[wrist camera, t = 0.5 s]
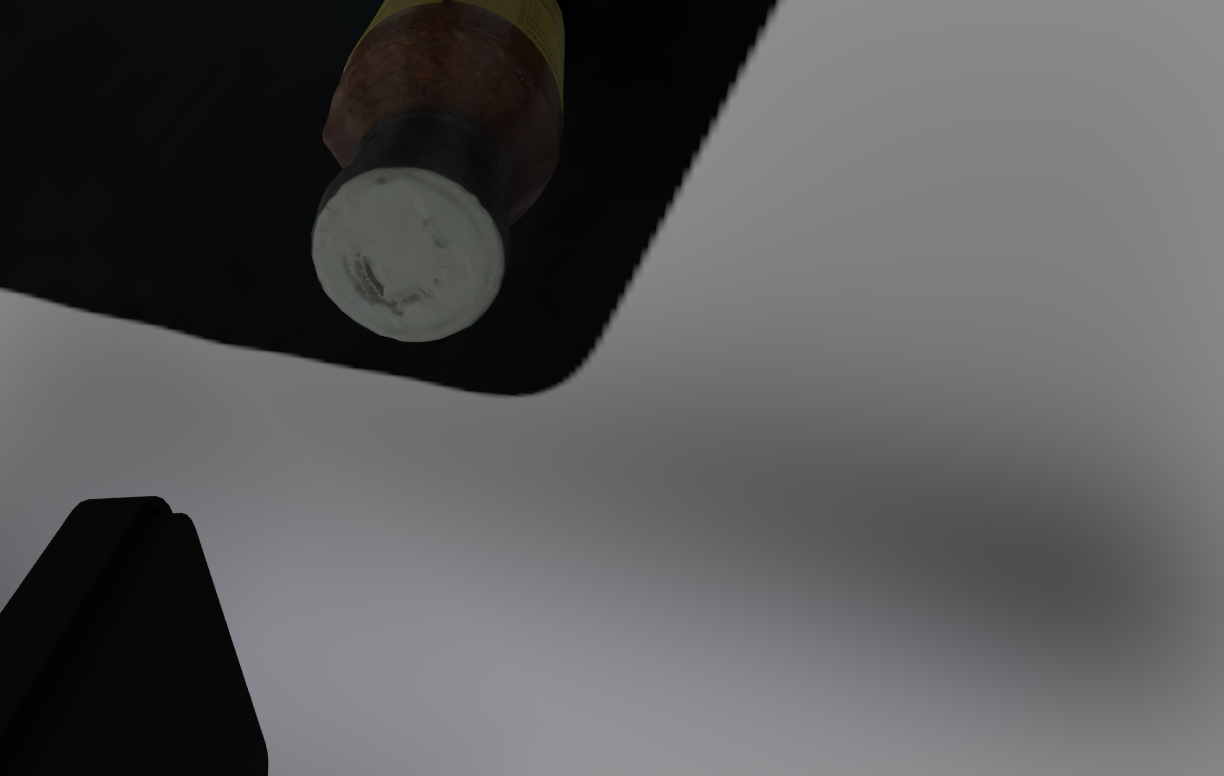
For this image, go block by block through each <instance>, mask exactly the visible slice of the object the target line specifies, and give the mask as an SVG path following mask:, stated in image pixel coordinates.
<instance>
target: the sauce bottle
mask: <svg viewBox="0 0 1224 776" xmlns="http://www.w3.org/2000/svg"><path fill="white" fill-rule="evenodd" d="M564 55H565V30H564V23H563V17H562V12H561V10H560V8H559V6H558V3H557V1H556V0H385V1H384V3H383V5H382V6H381V8H380V10H379V11H378V13H377V14H376V16H375V18H374V19H373V21H372V22H371V24H370V25H369V27H368V29H367V30H366V32H365V33H364V35H363V36H362V38H361V39H360V41H359V42H358V44H357V45H356V47H355V49H354V50H353V52H352V54H351V55H350V57H349V60H348V62H347V64H346V67H345V69H344V72H343V75H342V76H341V81H340V84H339V85H338V87H337V90H336V92H335V93H334V96H333V99H332V103H331V109H330V113H329V116H328V120H327V122H326V125H325V127H324V131H323V141H324V143H325V144H326V145H327V147H328V148H329V149H330V150H331V152H332V153H333V154H334V156H335V157H336V159H337V160H338V162H339V163H340V165H341V166H342V168H343V171H342V172H340V173H339V174H338V175H337V177H336V178H335V179H334V180H333V181H332V182H331V184H330V185H329V186H328V188H327V189H326V191H325V193H324V194H323V197H322V200H321V202H320V205H319V208H318V213H317V217H316V220H315V222H314V225H313V230H312V232H311V236H312V255H311V256H312V259H313V261H314V264H315V268H316V272H317V276H318V280H319V281H320V283H321V286H322V288H323V289H324V291H325V292H326V294H327V295H328V296H329V298H330V299H331V300H332V301H334V302H335V303H336V304H337V305H338V307H339V308H340V309H341V310H342V311H343V312H344V313H345V314H347V315H348V316H349V317H350V318H352V319H353V320H354V321H355V322H357V323H359V324H360V325H362V326H364V327H366V328H367V329H369V330H371V331H373V332H375V333H377V334H379V335H381V336H386V337H390V338H394V339H397V340H400V341H412V342H424V341H431V340H437V339H442V338H444V337H447V336H449V335H452V334H454V333H456V332H458V331H460V330H462V329H465V328H467V327H470V326H472V325H473V324H474V323H475V322H476V321H477V320H478V319H479V318H480V317H481V316H482V315H483V314H484V313H485V312H486V311H487V310H488V308H489V307H490V305H491V304H492V303H493V301H494V300H495V298H496V297H497V295H498V293H499V291H500V289H501V286H502V282H503V279H504V276H505V272H506V268H507V265H508V259H509V252H510V243H511V241H510V230H509V226H511V225H512V224H513V223H515V222H516V221H517V220H518V219H519V218H521V217H522V216H523V215H524V214H525V212H526V211H527V210H528V209H529V208H530V207H531V206H532V205H533V204H534V202H535V201H536V200H537V198H538V197H539V195H540V194H541V192H542V191H543V189H544V187H545V186H546V184H547V183H548V181H549V180H550V178H551V176H552V175H553V173H554V171H555V169H556V166H557V164H558V160H559V143H560V139H561V133H562V126H563V82H564Z"/></svg>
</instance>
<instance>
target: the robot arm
mask: <svg viewBox="0 0 1224 776" xmlns="http://www.w3.org/2000/svg"><path fill="white" fill-rule="evenodd" d="M0 776H268V752H267V748H266V743H265V740H264V737H263V734H262V731H261V728H260V725H259V722H258V719H257V716H256V713H255V709H254V707H253V703H252V700H251V697H250V694H249V691H248V688H247V685H246V682H245V679H244V676H243V673H242V669H241V666H240V663H239V660H238V657H237V654H236V651H235V648H234V645H233V642H232V639H231V636H230V633H229V629H228V627H227V623H226V621H225V617H224V614H223V611H222V608H221V605H220V602H219V599H218V596H217V593H216V590H215V586H214V583H213V581H212V577H211V574H210V571H209V568H208V565H207V562H206V559H205V556H204V553H203V550H202V547H201V544H200V540H199V537H198V534H197V531H196V528H195V526H194V524H193V522H192V520H191V519H190V517H188V515H187V514H183V513H172V510H171V508H170V506H169V505H168V504H167V503H166V502H165V500H164V499H163V498H160V497H157V496H144V497H125V498H105V499H88V500H85V501H82V502H80V503H79V504H78V505H77V506H76V507H75V508H74V509H73V510H72V512H71V513H70V514H69V516H68V517H67V519H66V520H65V522H64V523H63V525H62V526H61V527H60V529H59V530H58V532H57V533H56V535H55V536H54V537H53V539H52V540H51V542H50V543H49V544H48V546H47V547H46V549H45V550H44V552H43V553H42V554H41V556H40V557H39V559H38V560H37V562H36V563H35V564H34V566H33V568H32V569H31V570H30V572H29V573H28V574H27V576H26V577H25V579H24V580H23V582H22V583H21V584H20V586H19V588H18V589H17V590H16V592H15V593H14V595H13V596H12V598H11V599H10V600H9V602H8V603H7V604H6V606H5V607H4V609H3V610H2V612H1V613H0Z"/></svg>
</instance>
